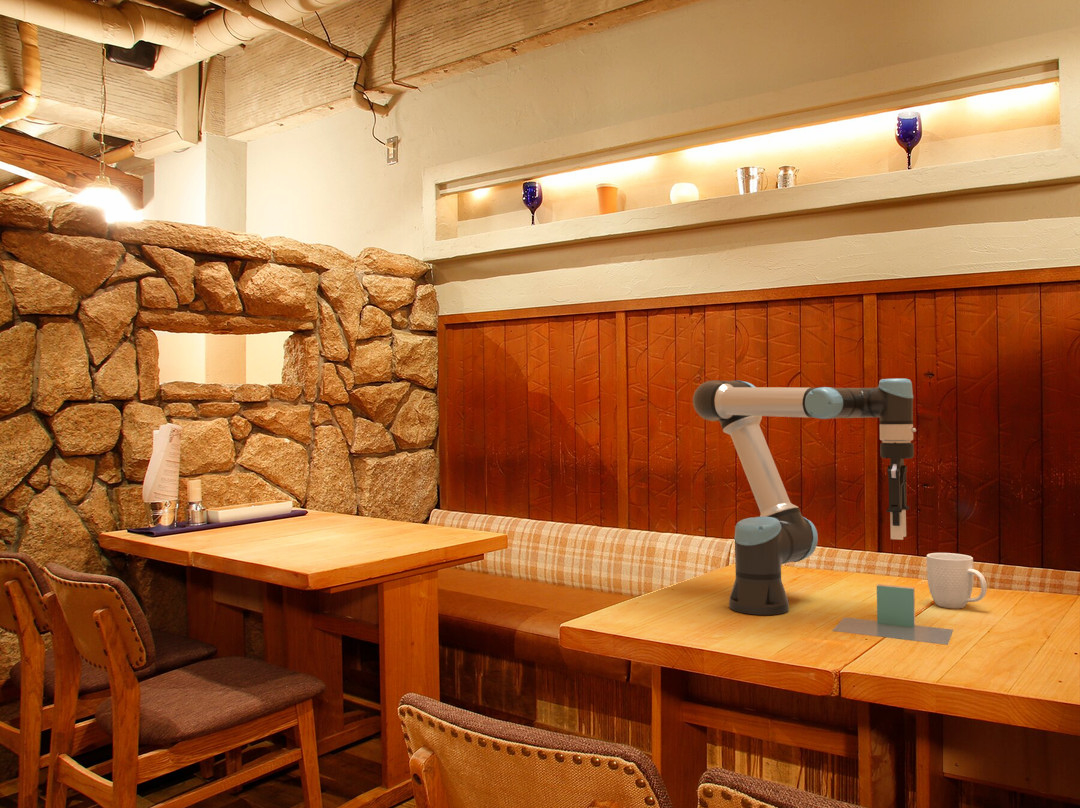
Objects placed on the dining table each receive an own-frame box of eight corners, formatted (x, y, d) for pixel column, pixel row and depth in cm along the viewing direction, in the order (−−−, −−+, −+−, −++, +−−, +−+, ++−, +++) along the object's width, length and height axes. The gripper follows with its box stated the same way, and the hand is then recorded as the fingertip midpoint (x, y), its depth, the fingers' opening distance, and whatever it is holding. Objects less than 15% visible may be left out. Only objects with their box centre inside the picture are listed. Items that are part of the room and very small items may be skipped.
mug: (997, 609, 210) (996, 558, 210) (974, 616, 204) (973, 563, 204) (942, 599, 222) (941, 551, 222) (918, 604, 216) (917, 555, 216)
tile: (877, 623, 194) (876, 585, 194) (878, 621, 196) (878, 584, 196) (914, 627, 190) (913, 589, 190) (915, 625, 192) (914, 587, 192)
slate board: (832, 634, 188) (832, 630, 188) (844, 621, 200) (844, 617, 200) (947, 649, 176) (947, 644, 176) (953, 633, 188) (953, 629, 188)
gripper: (908, 443, 189) (910, 543, 189) (918, 440, 204) (919, 533, 204) (874, 443, 193) (876, 541, 193) (885, 440, 208) (887, 531, 208)
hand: (898, 537), depth 199 cm, fingers open, 4 cm apart
